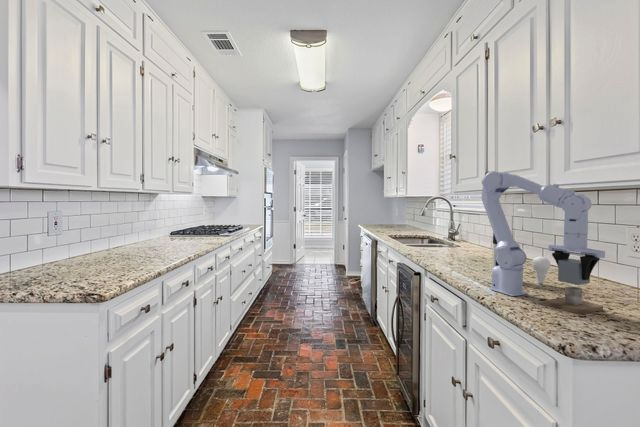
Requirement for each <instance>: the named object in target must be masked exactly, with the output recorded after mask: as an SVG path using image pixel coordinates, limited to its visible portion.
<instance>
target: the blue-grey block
mask: <svg viewBox="0 0 640 427" xmlns="http://www.w3.org/2000/svg"><path fill="white" fill-rule="evenodd" d="M557 268H558V269H557V273H558V274H557V278H558V279H557V281H558V282H562V283H565V284H569V285H570V284H572V285H575V286H582V285H587V284H588V285H589V284H590V283H591V276H590V277H589V280H582V264H581V260H580V259H576V258H569V259H563V260H558V265H557Z"/></svg>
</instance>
